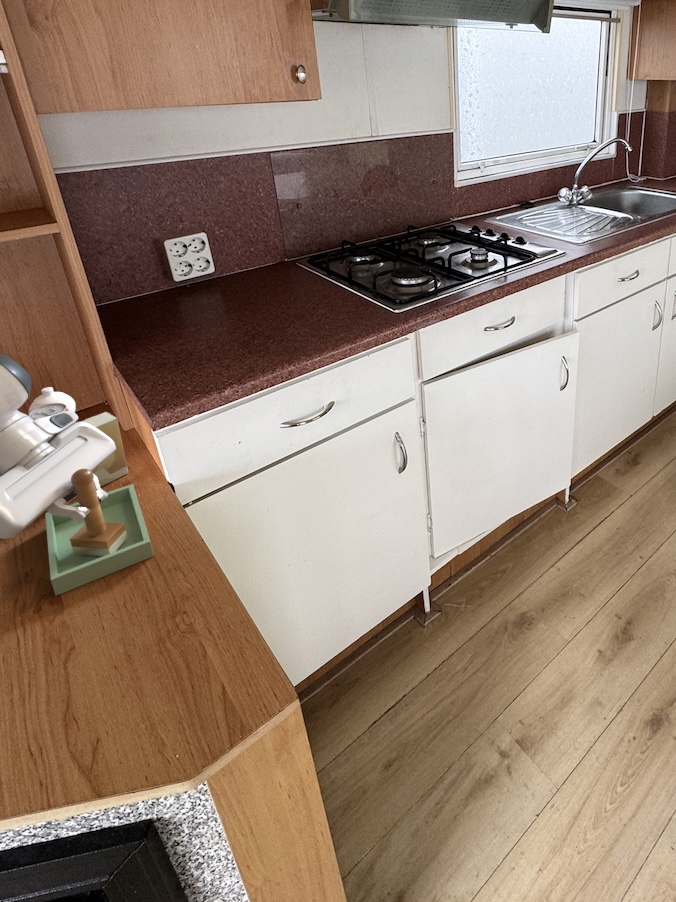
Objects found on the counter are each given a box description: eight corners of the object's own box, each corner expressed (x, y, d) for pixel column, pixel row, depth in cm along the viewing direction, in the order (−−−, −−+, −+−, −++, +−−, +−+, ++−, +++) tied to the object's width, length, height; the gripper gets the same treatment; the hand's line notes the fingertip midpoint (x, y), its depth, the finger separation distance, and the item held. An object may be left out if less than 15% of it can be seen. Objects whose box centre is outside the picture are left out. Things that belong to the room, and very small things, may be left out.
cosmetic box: (94, 490, 106) (79, 433, 102) (82, 482, 108) (67, 425, 104) (131, 472, 111) (118, 417, 107) (119, 464, 113) (105, 410, 109)
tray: (153, 556, 91) (150, 541, 90) (55, 596, 84) (50, 580, 83) (136, 497, 104) (132, 483, 103) (49, 527, 97) (45, 513, 96)
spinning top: (61, 452, 117) (46, 399, 113) (28, 448, 118) (12, 396, 114) (92, 431, 124) (79, 381, 120) (60, 427, 125) (47, 378, 121)
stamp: (73, 554, 90) (50, 477, 85) (92, 535, 94) (71, 461, 89) (110, 557, 90) (89, 480, 85) (128, 538, 93) (108, 463, 88)
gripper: (-39, 484, 76) (50, 548, 79) (79, 404, 95) (147, 458, 98) (-60, 510, 78) (28, 571, 80) (59, 426, 97) (127, 478, 100)
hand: (94, 508), depth 89 cm, fingers closed on stamp, 2 cm apart
